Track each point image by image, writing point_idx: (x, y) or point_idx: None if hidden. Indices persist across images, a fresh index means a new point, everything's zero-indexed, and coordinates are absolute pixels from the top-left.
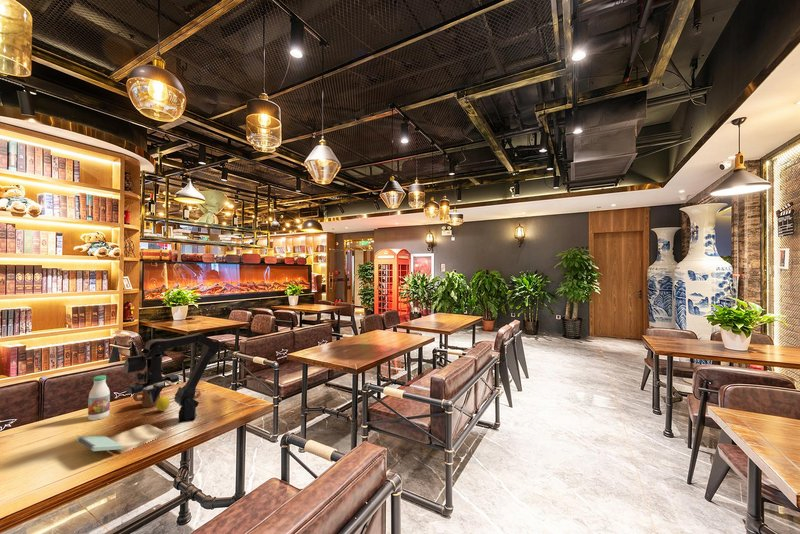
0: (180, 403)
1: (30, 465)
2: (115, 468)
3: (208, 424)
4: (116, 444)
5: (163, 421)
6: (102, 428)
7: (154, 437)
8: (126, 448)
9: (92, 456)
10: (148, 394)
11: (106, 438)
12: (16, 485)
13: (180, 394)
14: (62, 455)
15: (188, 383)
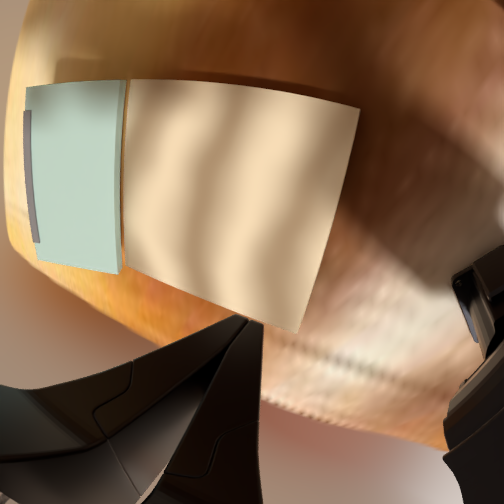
0: (450, 409)
1: (30, 62)
2: (107, 314)
3: (429, 413)
4: (104, 250)
5: (455, 152)
6: None
7: (244, 311)
8: (142, 271)
9: None
10: (108, 373)
11: (103, 141)
12: (9, 153)
13: (491, 458)
14: (64, 65)
15: None
